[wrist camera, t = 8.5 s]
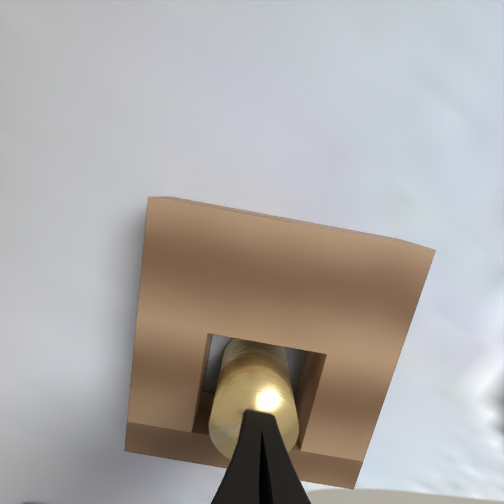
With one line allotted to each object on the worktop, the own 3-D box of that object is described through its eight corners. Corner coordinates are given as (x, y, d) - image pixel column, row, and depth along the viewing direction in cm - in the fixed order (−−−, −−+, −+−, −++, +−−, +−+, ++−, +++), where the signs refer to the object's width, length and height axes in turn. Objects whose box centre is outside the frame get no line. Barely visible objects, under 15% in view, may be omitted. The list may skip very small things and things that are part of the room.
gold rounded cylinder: (279, 391, 17) (289, 471, 12) (219, 381, 17) (203, 458, 12) (291, 336, 16) (307, 398, 11) (228, 325, 16) (215, 383, 11)
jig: (337, 440, 17) (353, 489, 14) (147, 407, 17) (124, 451, 14) (399, 239, 14) (436, 250, 12) (170, 196, 14) (148, 196, 11)
